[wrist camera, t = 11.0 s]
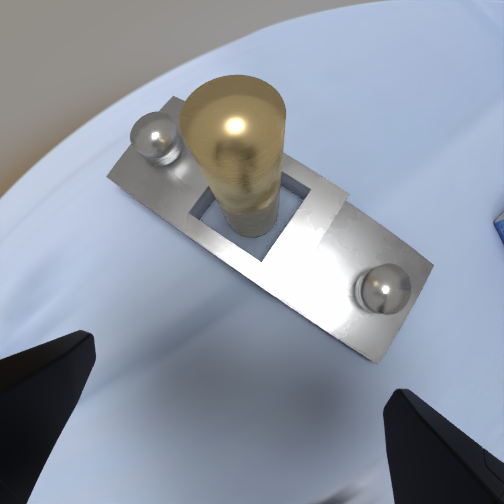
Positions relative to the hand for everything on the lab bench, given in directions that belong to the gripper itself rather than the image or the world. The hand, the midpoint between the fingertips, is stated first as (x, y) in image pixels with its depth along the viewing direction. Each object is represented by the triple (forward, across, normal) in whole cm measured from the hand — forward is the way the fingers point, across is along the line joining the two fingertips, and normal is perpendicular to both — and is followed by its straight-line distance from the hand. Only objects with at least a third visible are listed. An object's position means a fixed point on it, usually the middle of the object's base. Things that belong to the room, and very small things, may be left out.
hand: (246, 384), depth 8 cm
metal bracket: (+14, -1, -1) cm, 15 cm away
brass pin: (+15, +1, -2) cm, 15 cm away
